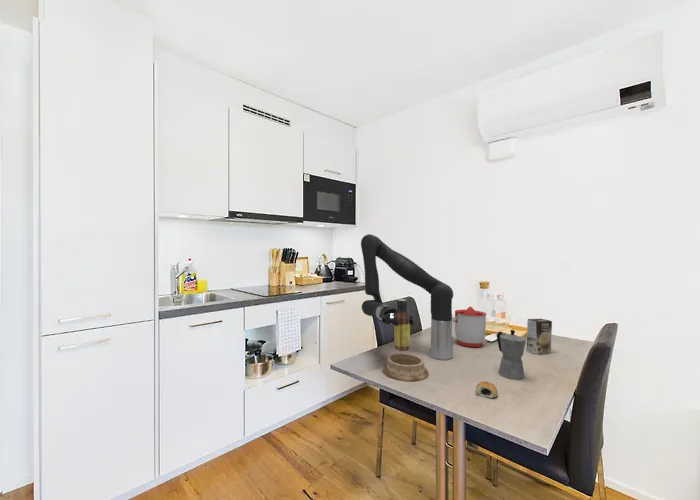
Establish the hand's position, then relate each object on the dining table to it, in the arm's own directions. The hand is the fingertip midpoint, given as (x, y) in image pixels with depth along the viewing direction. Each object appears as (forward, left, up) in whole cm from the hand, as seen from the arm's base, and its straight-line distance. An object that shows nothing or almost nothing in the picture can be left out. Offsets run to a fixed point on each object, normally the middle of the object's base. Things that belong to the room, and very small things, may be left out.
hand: (405, 323), depth 125 cm
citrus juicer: (-52, -26, -20) cm, 61 cm away
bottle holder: (-1, -1, -20) cm, 20 cm away
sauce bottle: (0, -2, -11) cm, 11 cm away
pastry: (-19, +24, -20) cm, 36 cm away
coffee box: (-78, -6, -20) cm, 81 cm away
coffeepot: (-41, +12, -20) cm, 47 cm away
